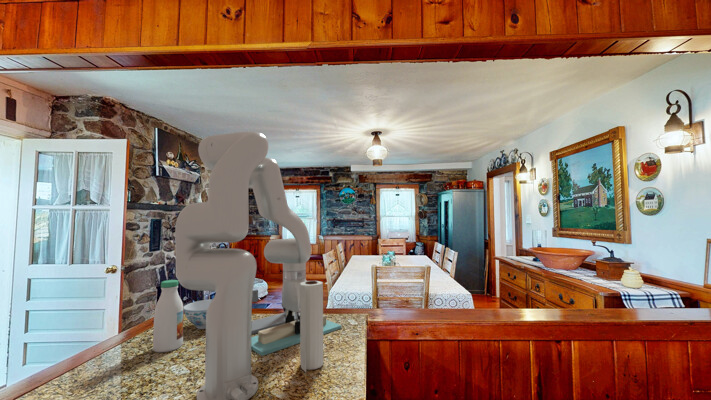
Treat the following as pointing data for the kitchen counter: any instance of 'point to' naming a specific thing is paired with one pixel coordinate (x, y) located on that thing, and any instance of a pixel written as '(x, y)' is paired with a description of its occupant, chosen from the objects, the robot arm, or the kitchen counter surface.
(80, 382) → the kitchen counter surface
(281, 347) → the mat
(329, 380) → the kitchen counter surface
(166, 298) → the milk bottle
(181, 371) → the kitchen counter surface
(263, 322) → the rack
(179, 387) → the kitchen counter surface
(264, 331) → the rail
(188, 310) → the chinaware
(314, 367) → the paper towel roll
